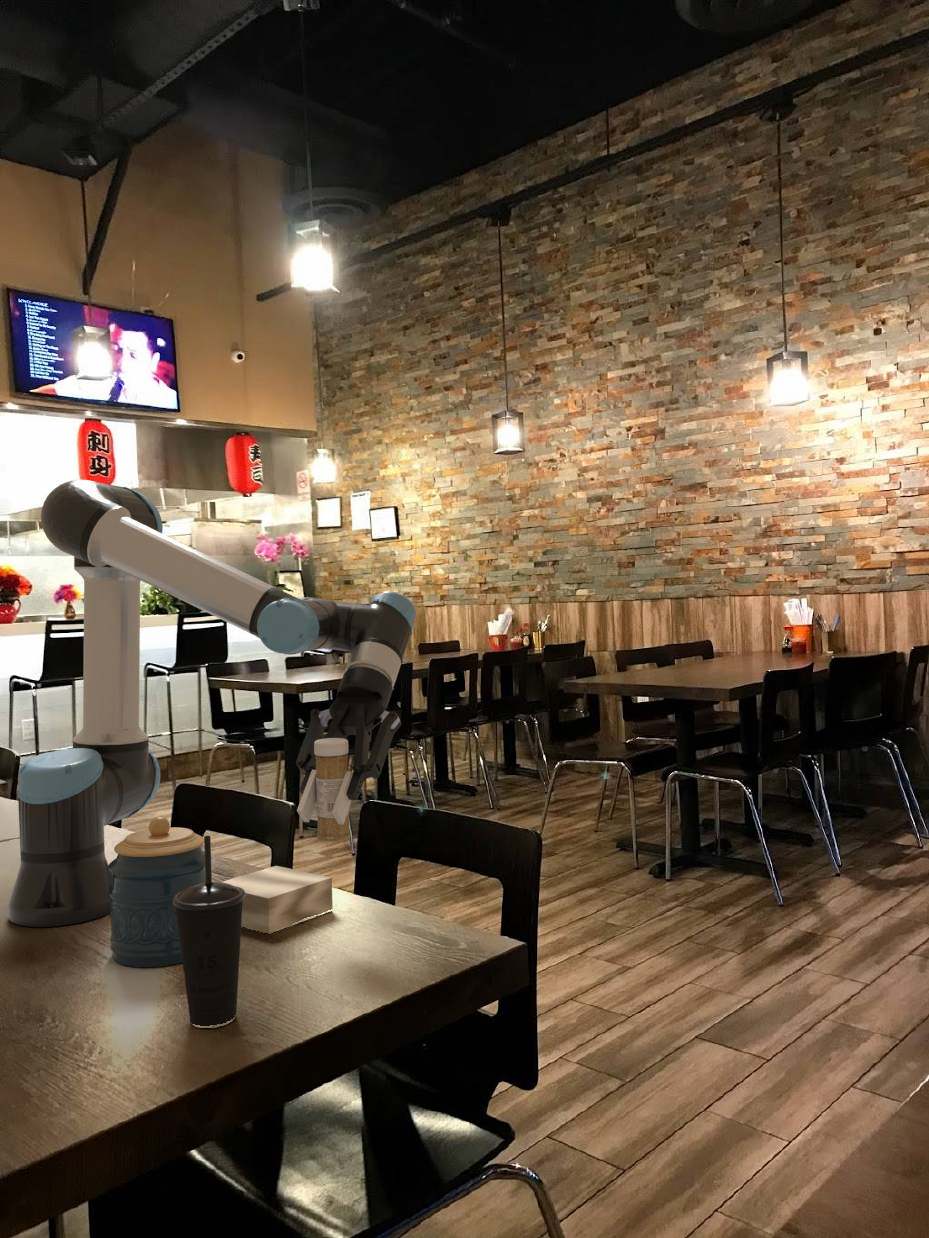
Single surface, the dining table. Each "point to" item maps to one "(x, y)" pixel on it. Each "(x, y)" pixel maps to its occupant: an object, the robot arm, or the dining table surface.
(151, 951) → the canister
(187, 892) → the drinking cup
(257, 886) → the maple block
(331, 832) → the sprinkles bottle
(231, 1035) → the dining table surface
